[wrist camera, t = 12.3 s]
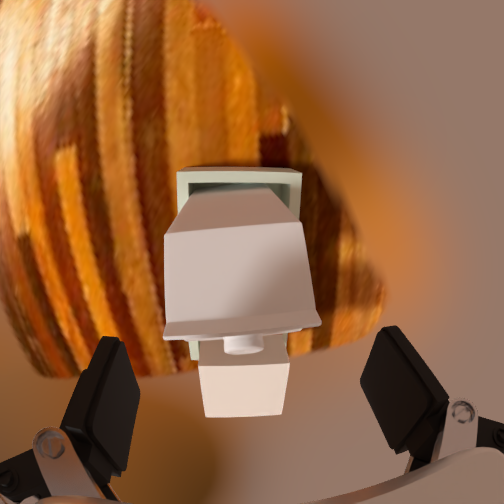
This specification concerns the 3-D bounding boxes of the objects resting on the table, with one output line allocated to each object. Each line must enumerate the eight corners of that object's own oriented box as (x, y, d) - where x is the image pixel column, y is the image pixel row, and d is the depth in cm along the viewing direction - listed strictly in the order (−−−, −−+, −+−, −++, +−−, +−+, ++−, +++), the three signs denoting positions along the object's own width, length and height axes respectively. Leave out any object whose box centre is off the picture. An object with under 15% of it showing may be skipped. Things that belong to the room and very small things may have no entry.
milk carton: (194, 187, 28) (144, 265, 11) (264, 181, 29) (326, 249, 11) (202, 253, 31) (179, 389, 13) (267, 247, 31) (316, 377, 14)
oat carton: (206, 277, 32) (197, 365, 19) (266, 277, 33) (290, 362, 20) (209, 325, 34) (205, 417, 21) (263, 324, 35) (282, 414, 22)
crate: (184, 167, 28) (176, 171, 24) (290, 168, 29) (302, 173, 25) (194, 335, 36) (191, 359, 31) (278, 333, 37) (284, 357, 32)
